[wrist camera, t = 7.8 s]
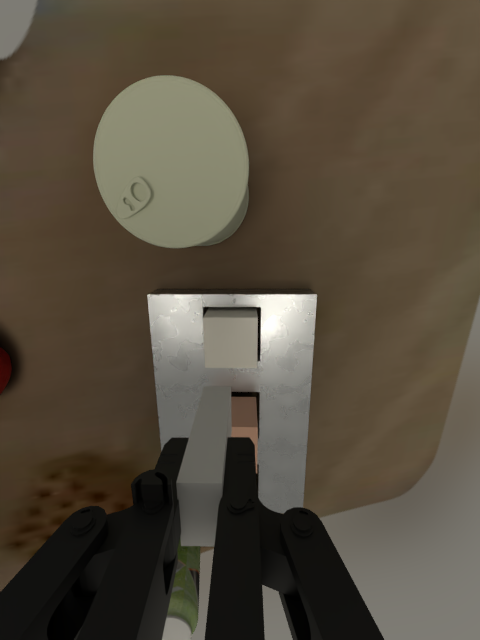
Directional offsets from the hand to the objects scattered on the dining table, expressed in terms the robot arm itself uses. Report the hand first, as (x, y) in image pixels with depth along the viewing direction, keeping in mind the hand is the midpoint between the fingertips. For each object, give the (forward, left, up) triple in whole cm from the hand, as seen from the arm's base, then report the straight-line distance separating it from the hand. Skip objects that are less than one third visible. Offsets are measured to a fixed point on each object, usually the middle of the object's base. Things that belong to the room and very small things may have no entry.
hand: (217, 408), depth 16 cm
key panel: (0, -9, -16) cm, 18 cm away
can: (-3, +13, -16) cm, 21 cm away
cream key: (0, 0, -15) cm, 15 cm away
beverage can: (-7, -28, -16) cm, 33 cm away
